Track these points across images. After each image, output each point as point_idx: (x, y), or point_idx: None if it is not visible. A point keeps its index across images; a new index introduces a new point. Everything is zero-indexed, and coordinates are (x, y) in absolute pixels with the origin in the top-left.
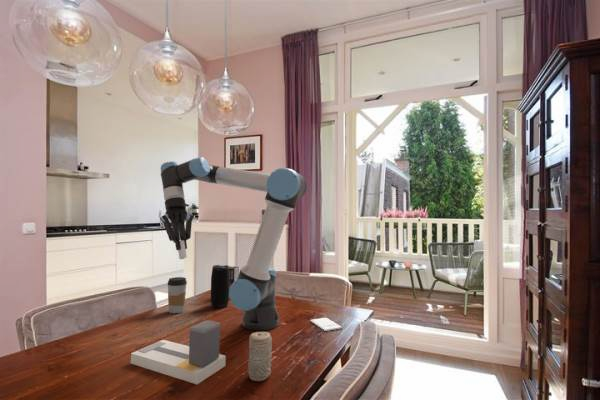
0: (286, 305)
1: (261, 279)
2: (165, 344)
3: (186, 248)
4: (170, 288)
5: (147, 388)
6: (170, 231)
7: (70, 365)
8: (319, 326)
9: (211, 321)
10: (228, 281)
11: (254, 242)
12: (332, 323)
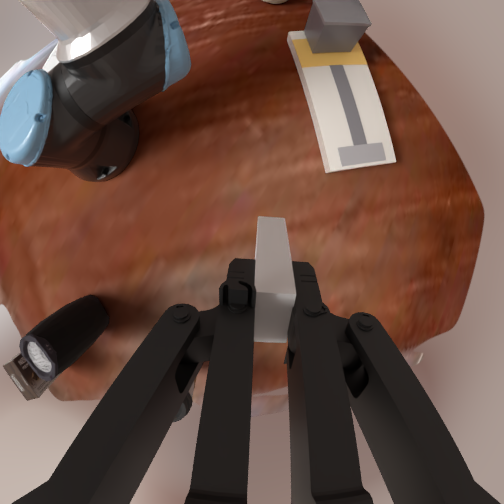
0: (11, 205)
1: None
2: (339, 145)
3: (236, 259)
4: (190, 389)
5: (397, 80)
6: (413, 376)
7: (437, 234)
8: None
9: (322, 12)
10: (47, 317)
11: None
12: (50, 59)
